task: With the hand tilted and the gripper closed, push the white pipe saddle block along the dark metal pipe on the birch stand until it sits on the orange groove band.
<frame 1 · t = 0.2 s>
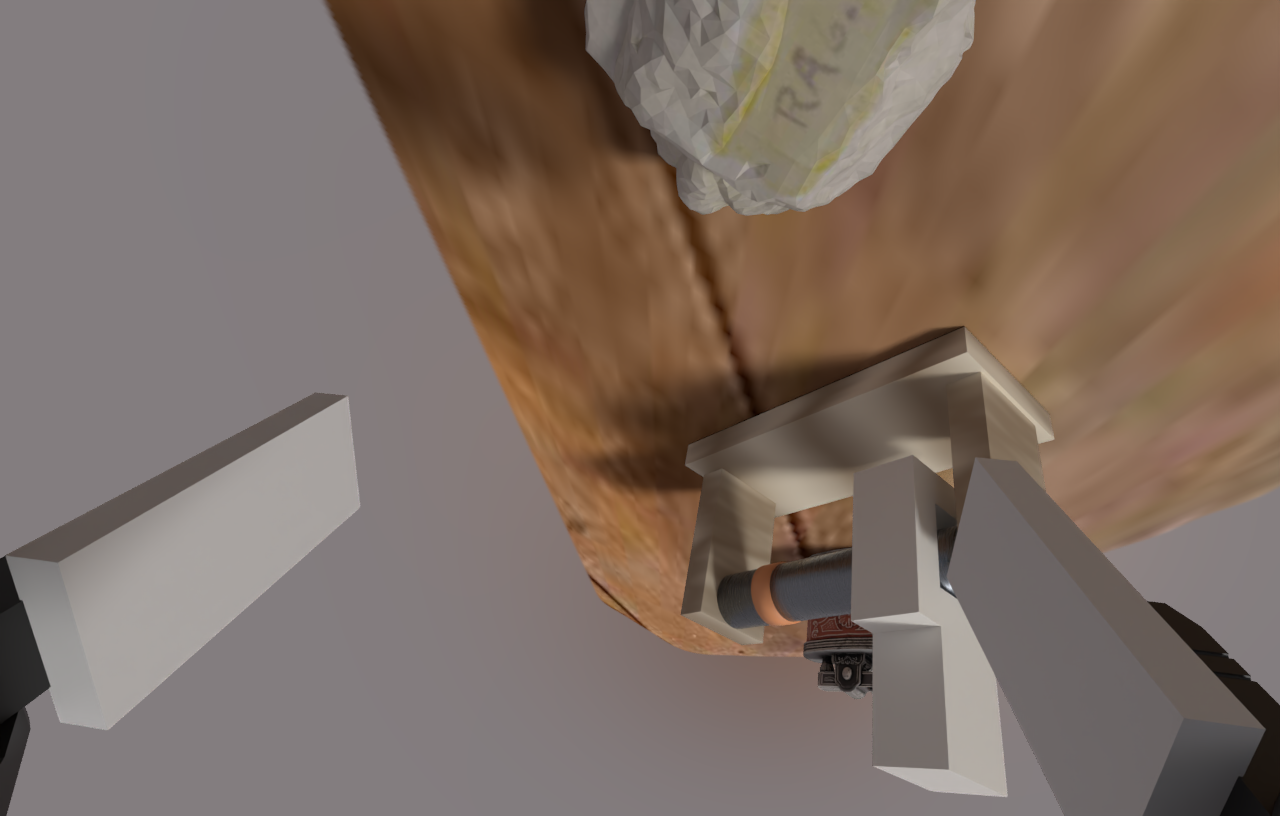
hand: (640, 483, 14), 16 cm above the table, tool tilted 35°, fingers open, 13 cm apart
white pipe saddle block: (931, 622, 28), point 11 cm above the table, slide at 0.0 cm
lighter: (859, 554, 50), on the table
pipe stand: (847, 431, 38), on the table
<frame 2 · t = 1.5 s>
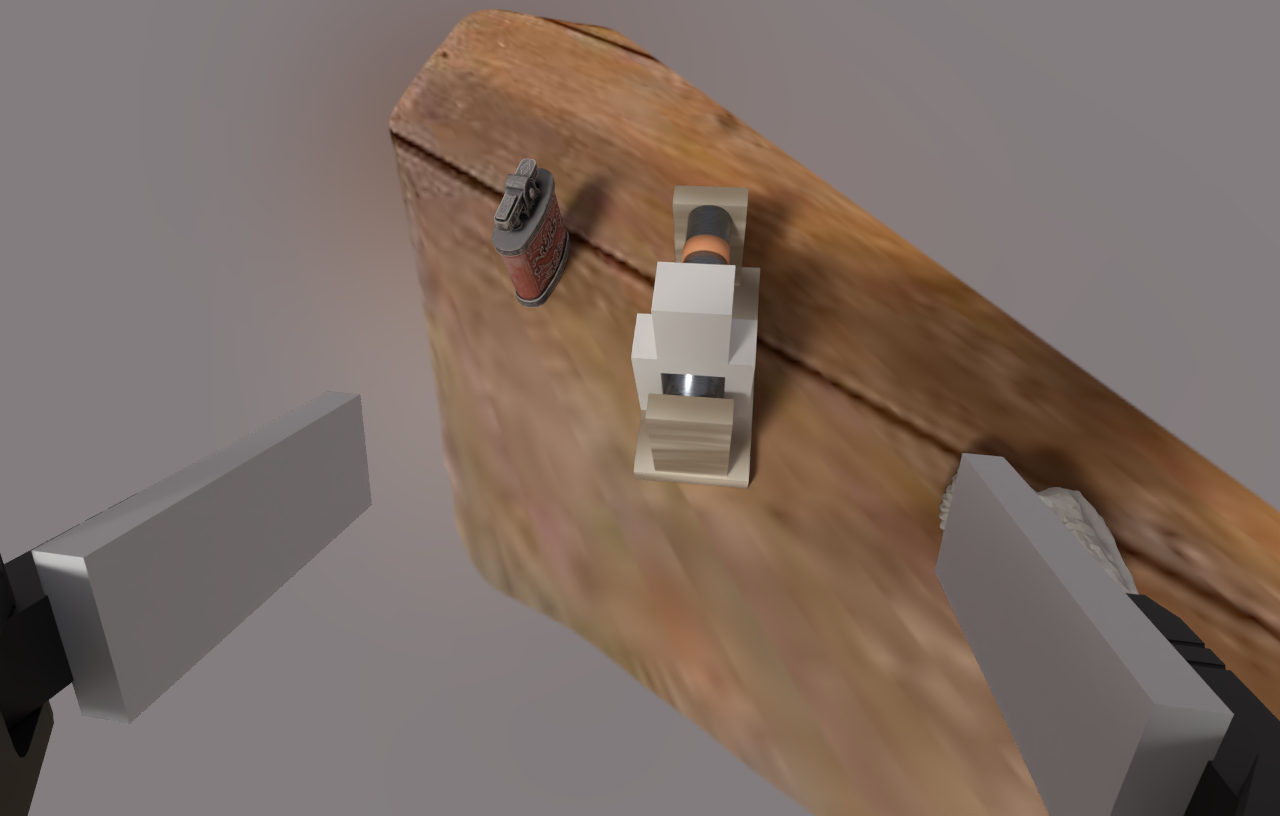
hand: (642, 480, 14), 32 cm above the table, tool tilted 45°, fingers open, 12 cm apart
fossil replica: (1003, 563, 44), on the table
white pipe saddle block: (694, 347, 39), point 12 cm above the table, slide at 0.0 cm
lighter: (544, 270, 57), on the table
pipe stand: (701, 372, 51), on the table
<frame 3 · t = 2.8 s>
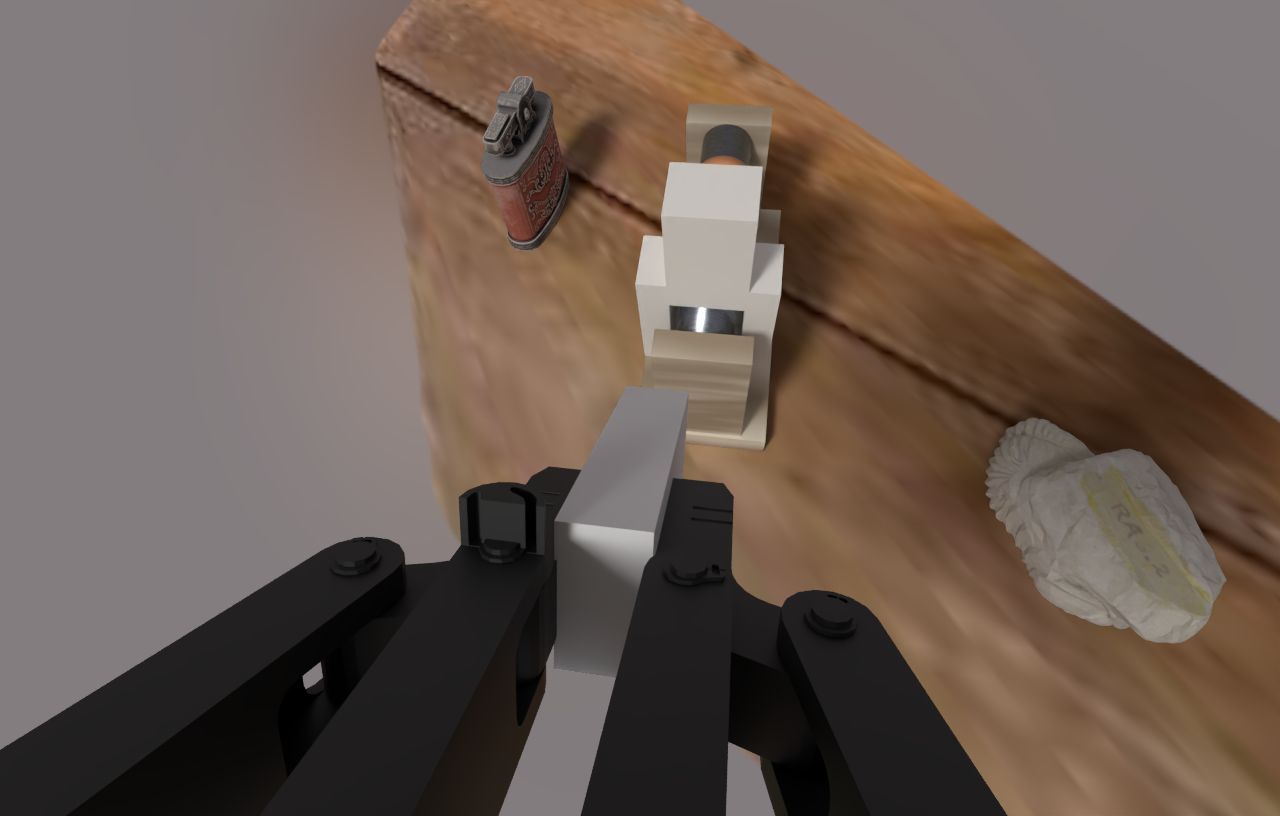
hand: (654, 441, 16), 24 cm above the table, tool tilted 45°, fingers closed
fossil replica: (1056, 539, 38), on the table
white pipe saddle block: (709, 276, 34), point 12 cm above the table, slide at 0.0 cm
lighter: (540, 211, 52), on the table
pipe stand: (712, 323, 46), on the table
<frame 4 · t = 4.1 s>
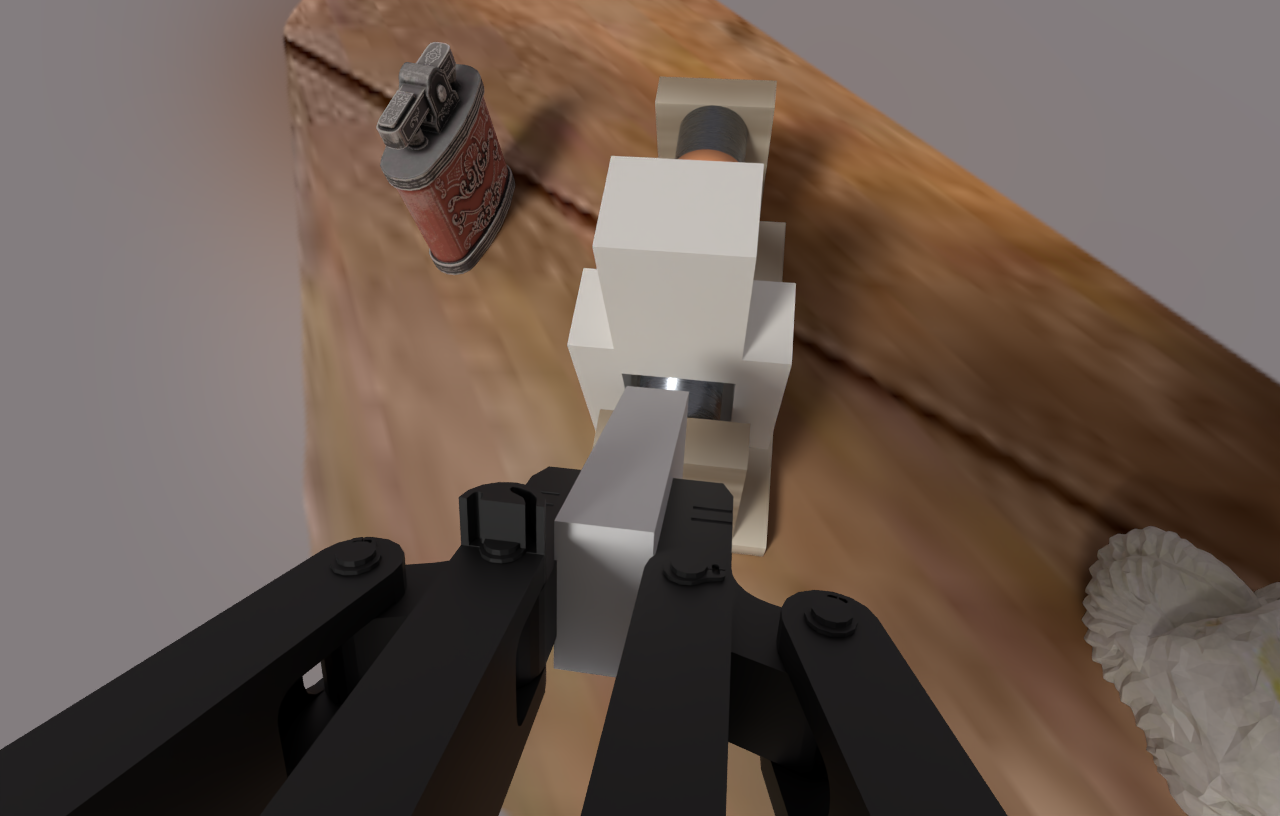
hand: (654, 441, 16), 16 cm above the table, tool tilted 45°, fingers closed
fossil replica: (1178, 694, 27), on the table
white pipe saddle block: (682, 330, 22), point 12 cm above the table, slide at 0.0 cm
lighter: (476, 223, 40), on the table
pipe stand: (695, 374, 34), on the table
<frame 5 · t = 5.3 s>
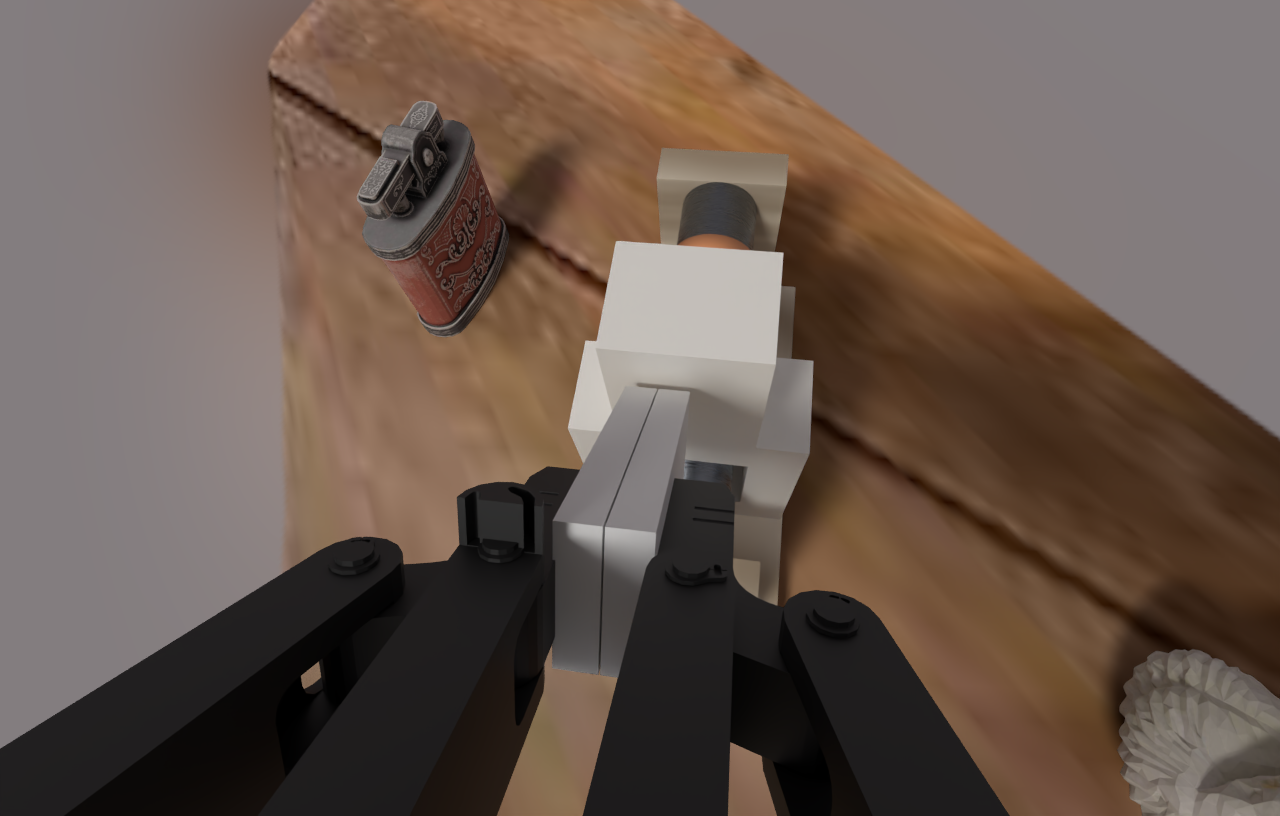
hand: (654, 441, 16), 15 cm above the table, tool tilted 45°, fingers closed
white pipe saddle block: (691, 408, 21), point 11 cm above the table, slide at 1.6 cm, touching gripper
lighter: (468, 279, 38), on the table
pipe stand: (698, 452, 32), on the table
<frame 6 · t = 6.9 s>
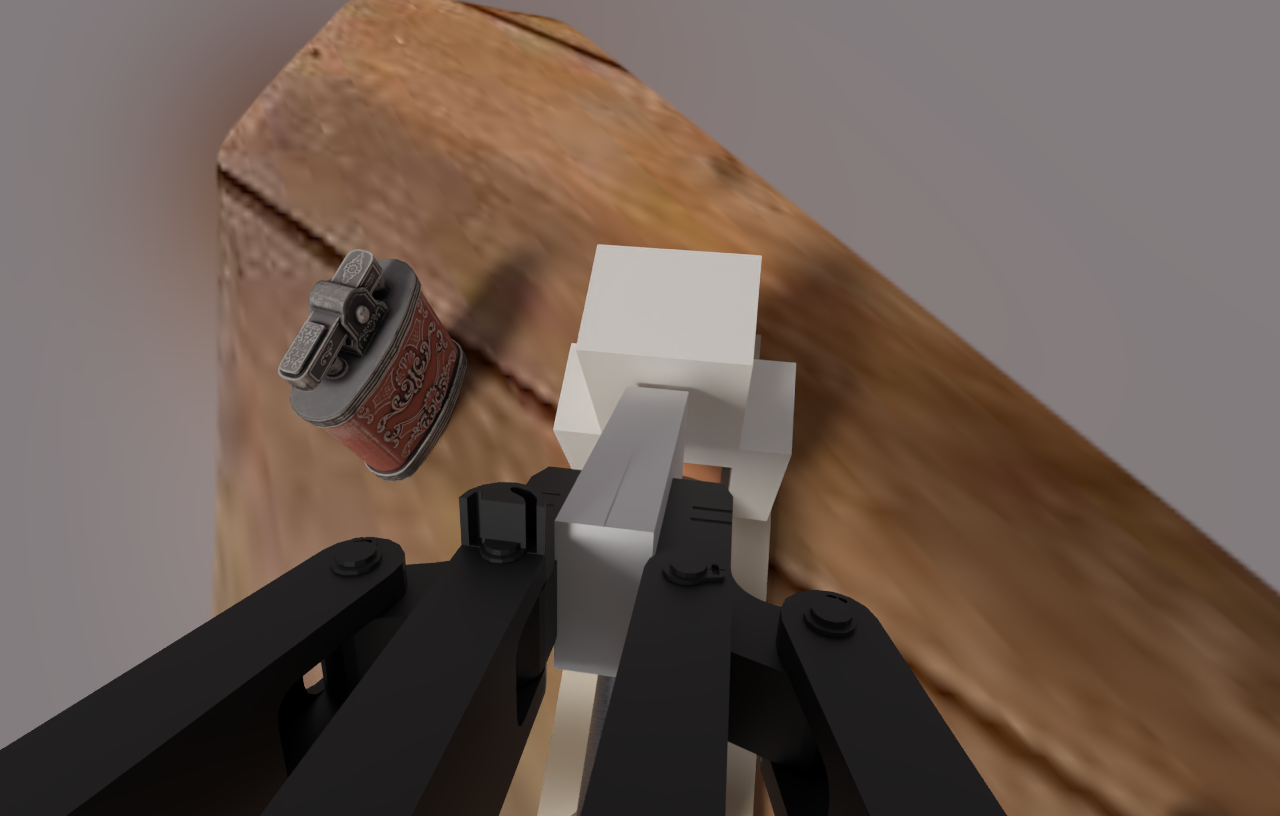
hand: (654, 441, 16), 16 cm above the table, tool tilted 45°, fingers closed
white pipe saddle block: (676, 410, 21), point 11 cm above the table, slide at 9.7 cm, touching gripper
lighter: (421, 411, 35), on the table
pipe stand: (668, 627, 29), on the table
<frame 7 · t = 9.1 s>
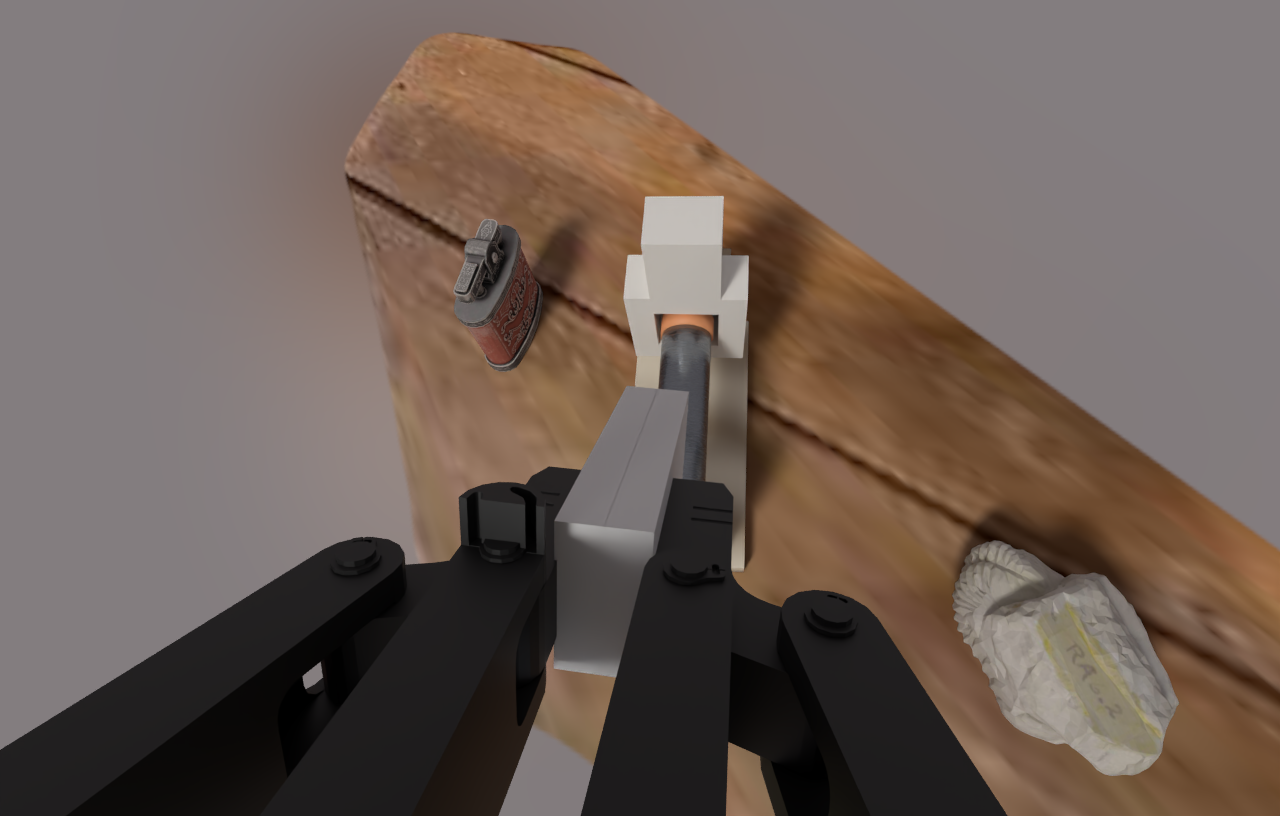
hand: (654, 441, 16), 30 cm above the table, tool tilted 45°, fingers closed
fossil replica: (1024, 648, 40), on the table
white pipe saddle block: (686, 286, 39), point 11 cm above the table, slide at 9.8 cm
lighter: (516, 327, 53), on the table
pipe stand: (688, 440, 47), on the table
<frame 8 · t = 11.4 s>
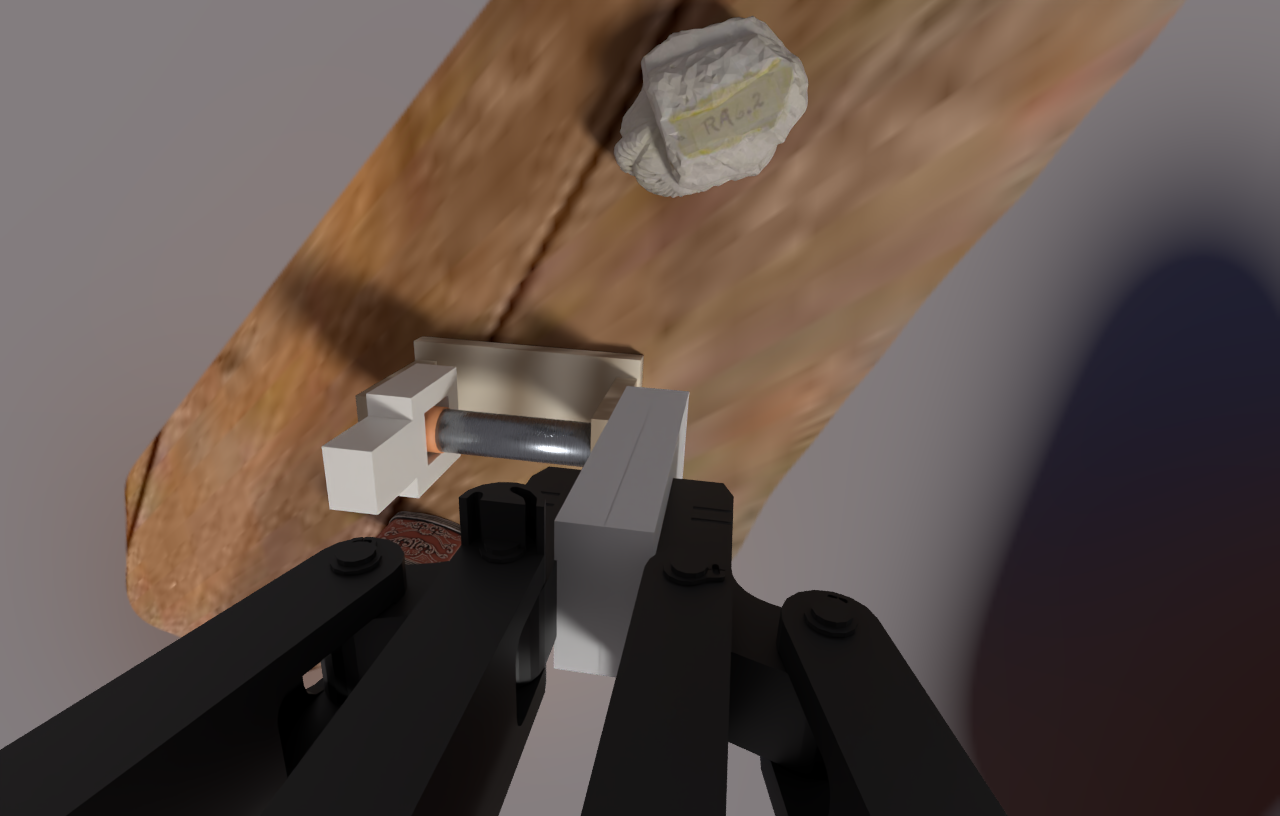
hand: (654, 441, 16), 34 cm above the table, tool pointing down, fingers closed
fossil replica: (706, 118, 45), on the table
white pipe saddle block: (400, 441, 44), point 11 cm above the table, slide at 9.8 cm
lighter: (436, 531, 60), on the table
pipe stand: (531, 393, 54), on the table
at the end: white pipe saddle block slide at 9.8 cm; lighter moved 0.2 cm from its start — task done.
